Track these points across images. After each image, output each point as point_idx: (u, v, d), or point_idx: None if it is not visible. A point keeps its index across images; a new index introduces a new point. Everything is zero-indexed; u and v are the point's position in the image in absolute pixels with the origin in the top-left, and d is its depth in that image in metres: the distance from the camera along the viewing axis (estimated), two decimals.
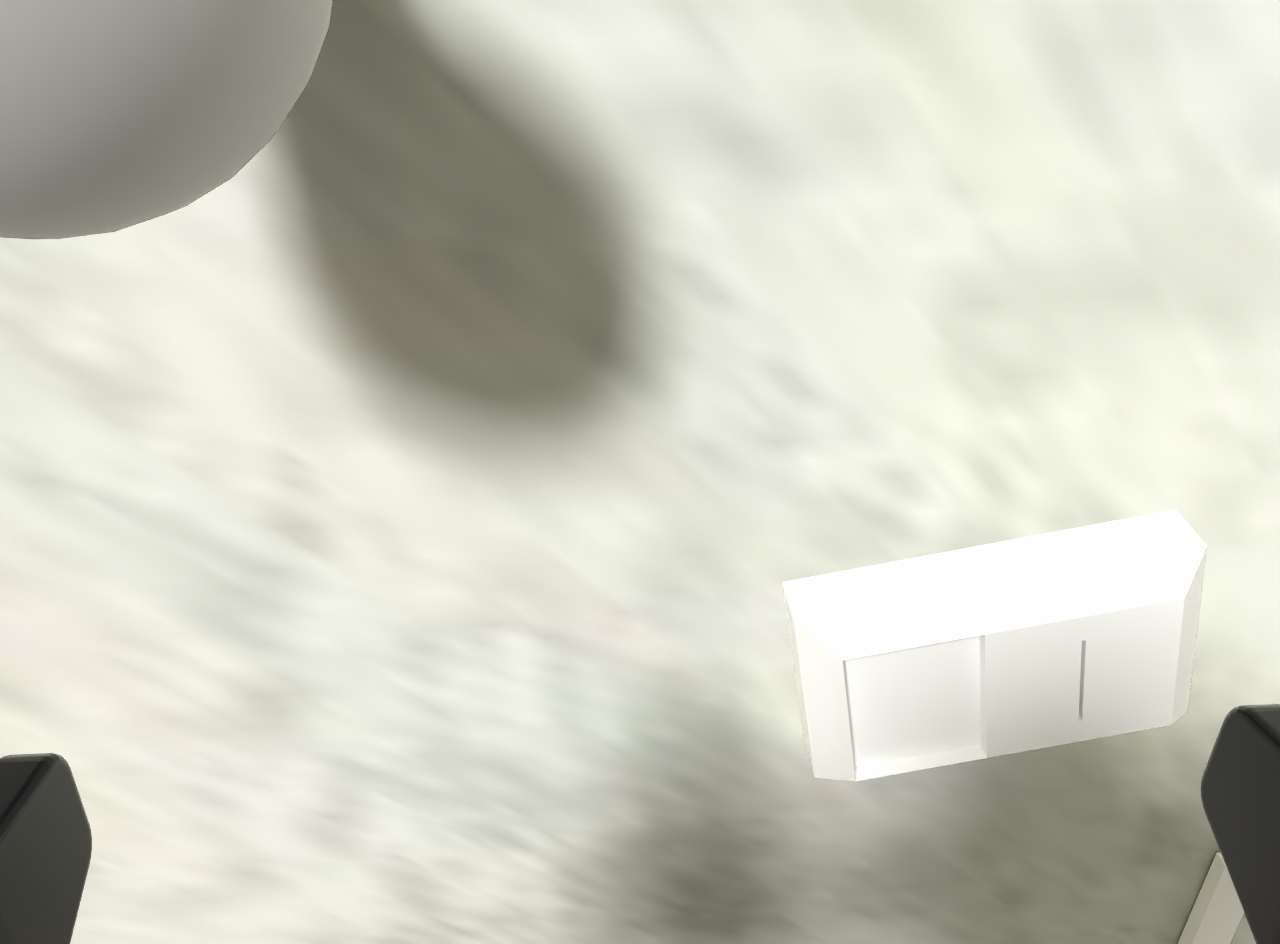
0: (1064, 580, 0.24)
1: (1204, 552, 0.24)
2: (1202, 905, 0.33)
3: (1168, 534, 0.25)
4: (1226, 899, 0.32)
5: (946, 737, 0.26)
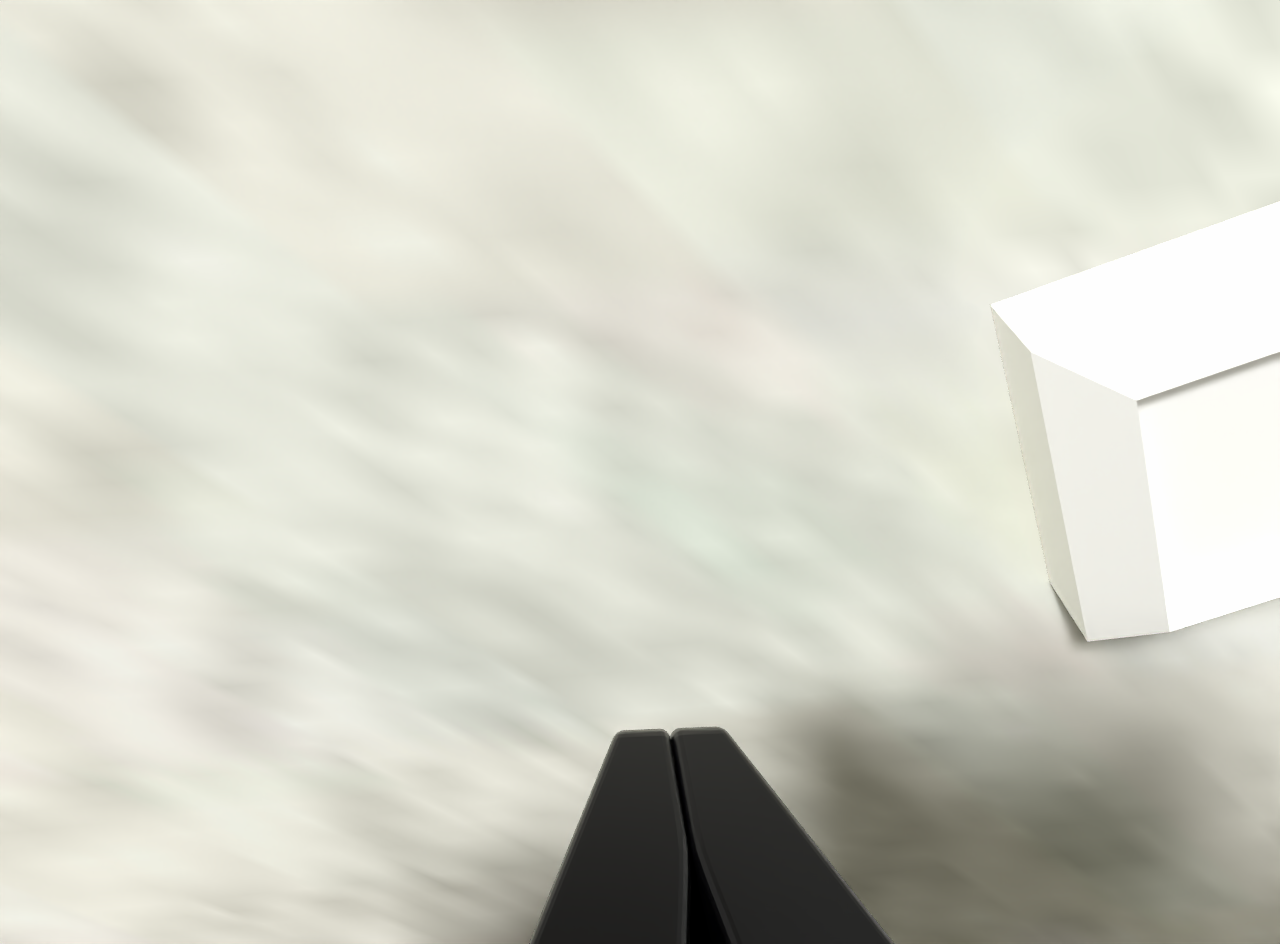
0: None
1: None
2: None
3: None
4: None
5: None
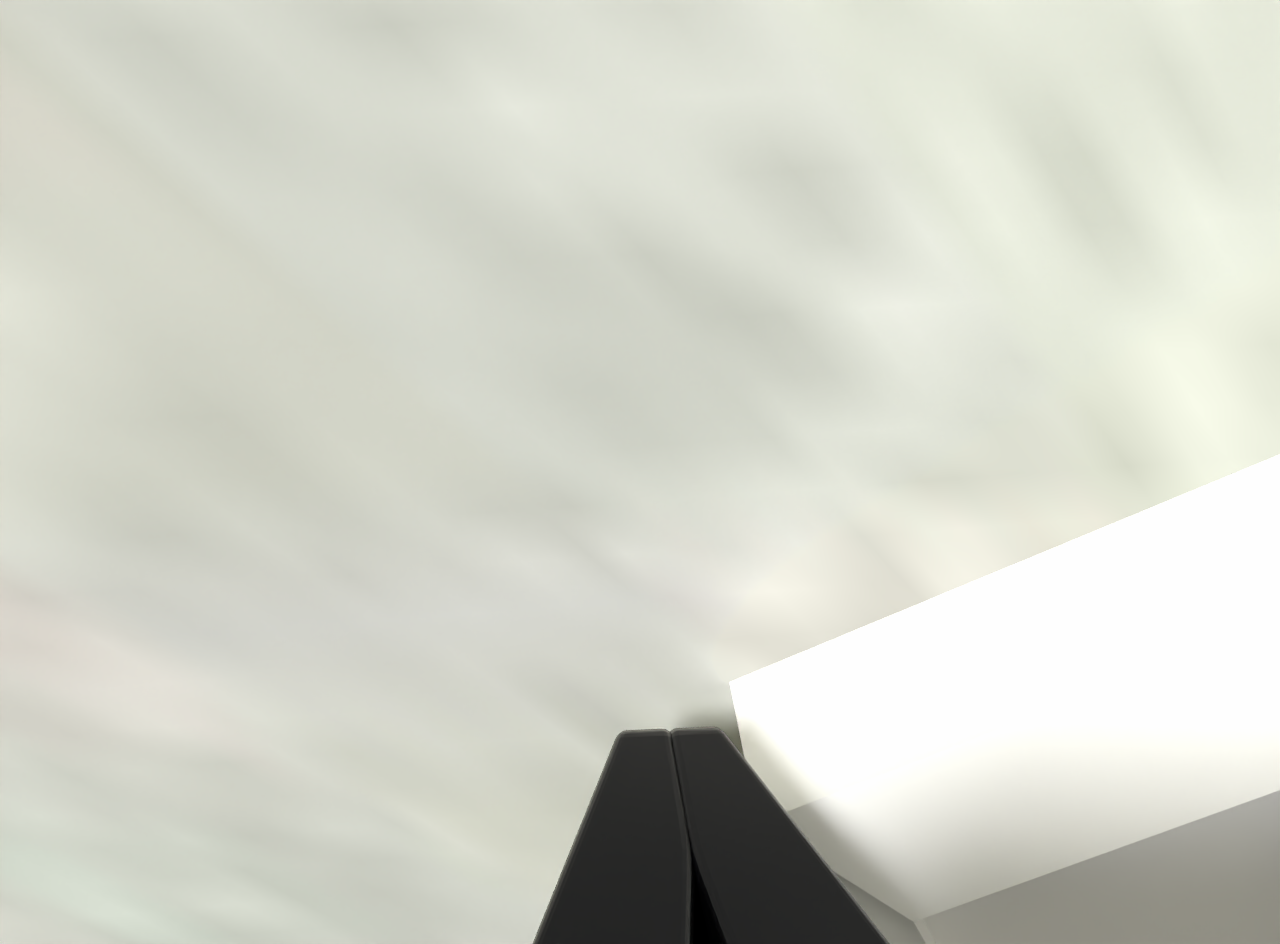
0: None
1: None
2: None
3: None
4: None
5: None
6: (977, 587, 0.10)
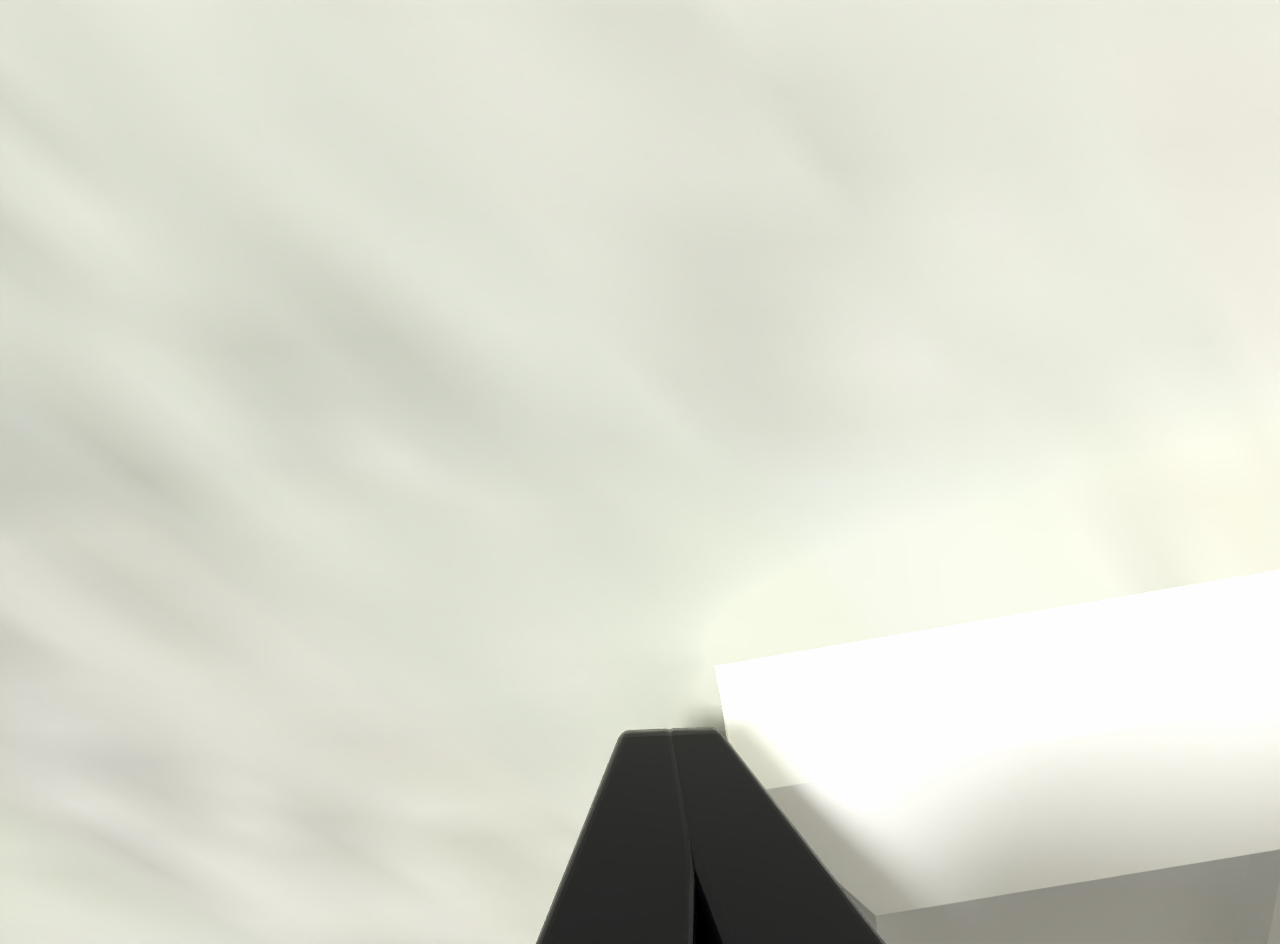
0: None
1: None
2: None
3: None
4: None
5: None
6: (970, 623, 0.10)
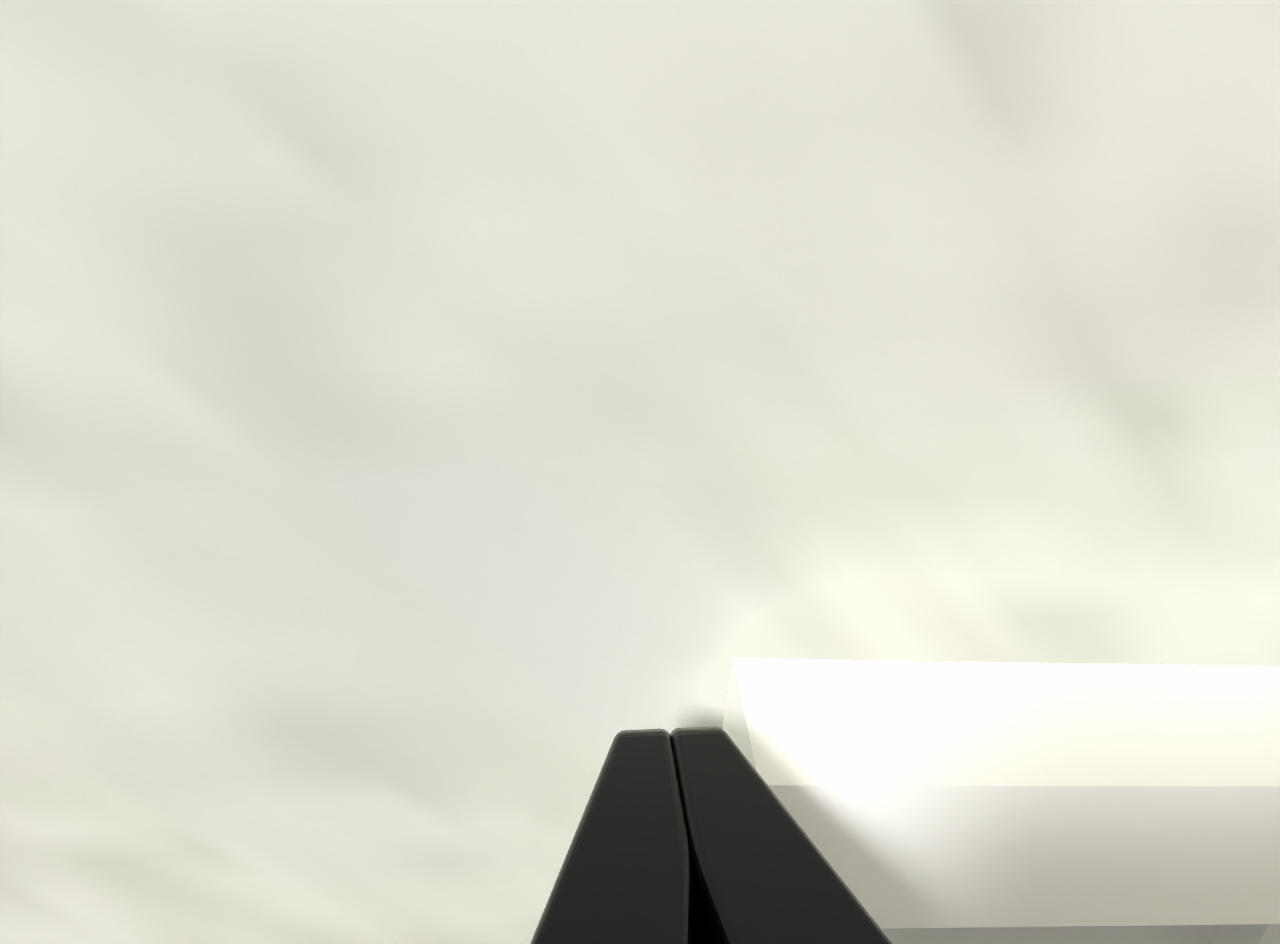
0: None
1: None
2: None
3: None
4: None
5: None
6: None
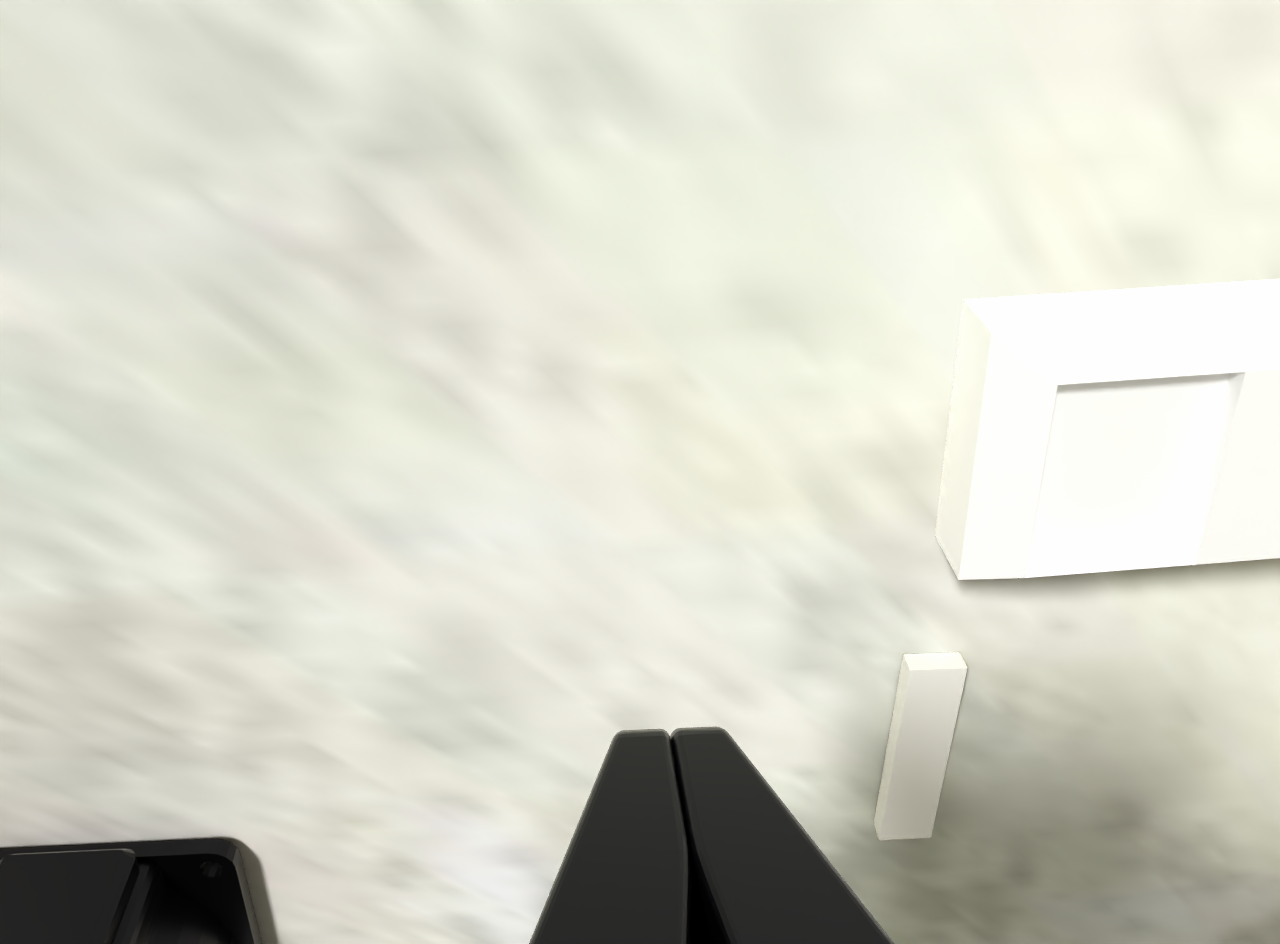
0: None
1: None
2: (894, 734, 0.24)
3: None
4: (921, 722, 0.24)
5: (1145, 533, 0.20)
6: None
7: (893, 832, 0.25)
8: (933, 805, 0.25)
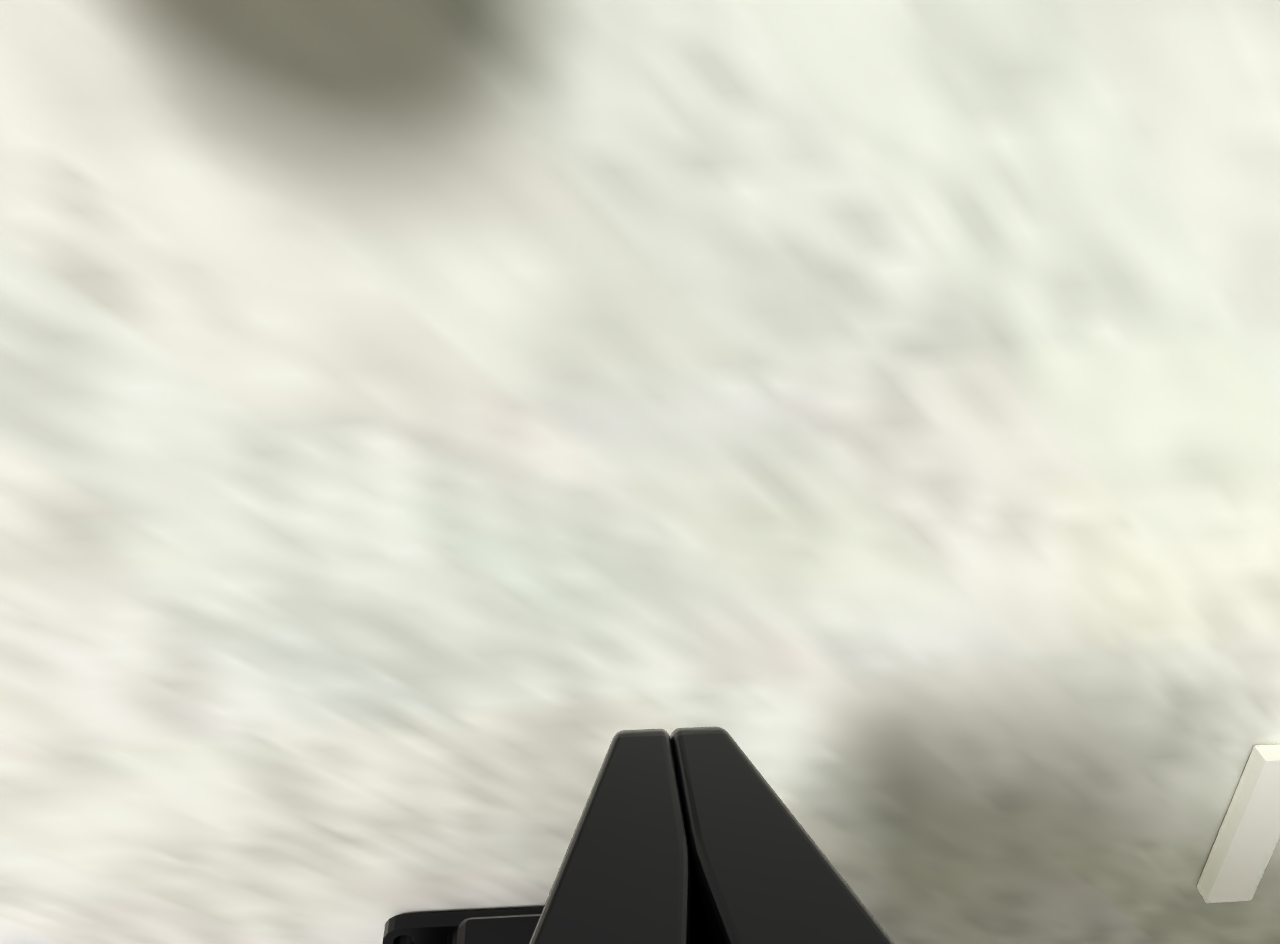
0: None
1: None
2: (1236, 813, 0.27)
3: None
4: (1265, 804, 0.27)
5: None
6: None
7: (1220, 896, 0.29)
8: (1260, 873, 0.28)
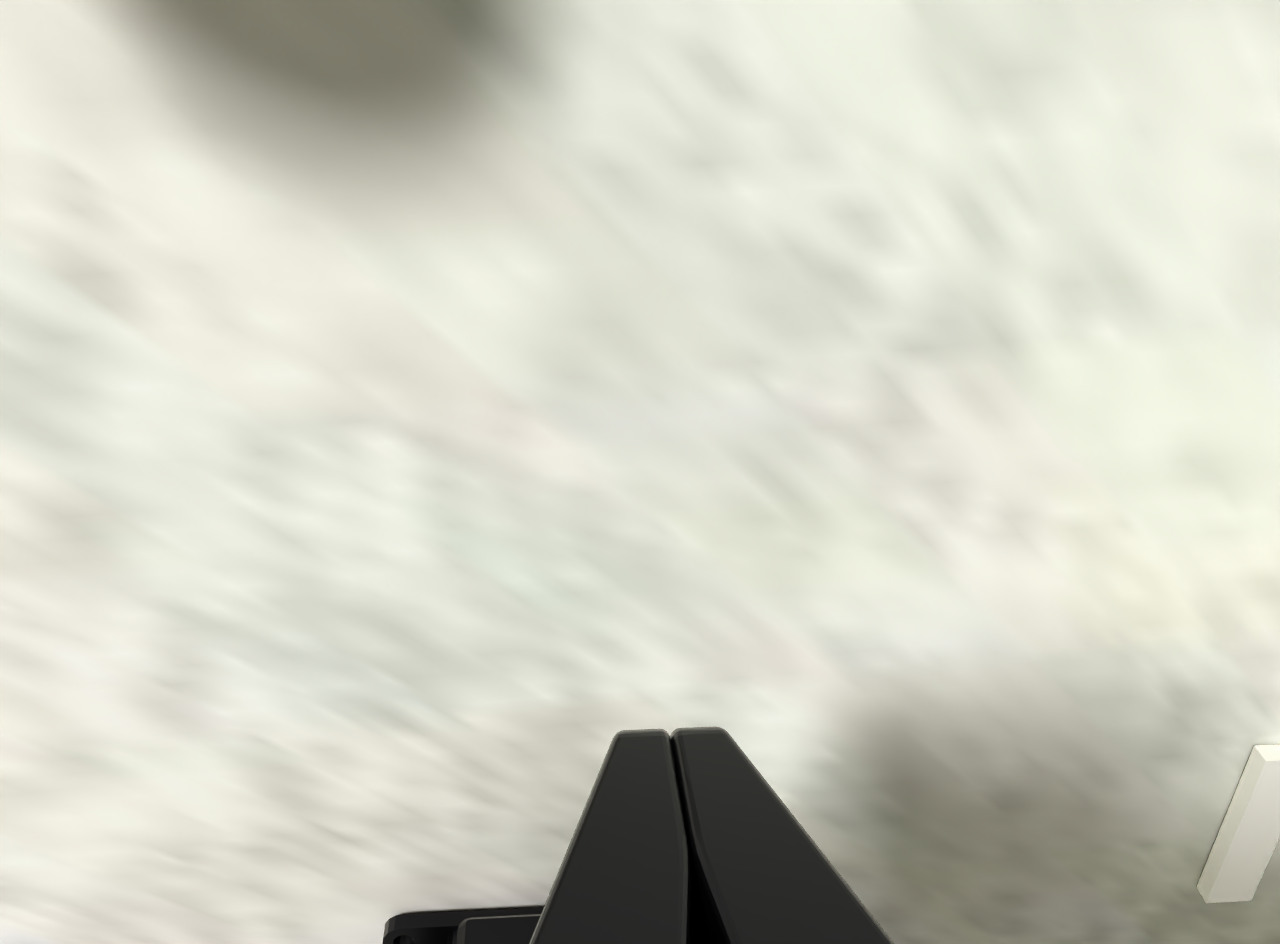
0: None
1: None
2: (1236, 813, 0.27)
3: None
4: (1265, 804, 0.27)
5: None
6: None
7: (1220, 896, 0.29)
8: (1260, 873, 0.28)
